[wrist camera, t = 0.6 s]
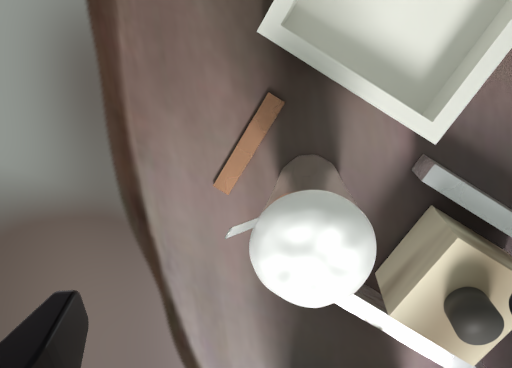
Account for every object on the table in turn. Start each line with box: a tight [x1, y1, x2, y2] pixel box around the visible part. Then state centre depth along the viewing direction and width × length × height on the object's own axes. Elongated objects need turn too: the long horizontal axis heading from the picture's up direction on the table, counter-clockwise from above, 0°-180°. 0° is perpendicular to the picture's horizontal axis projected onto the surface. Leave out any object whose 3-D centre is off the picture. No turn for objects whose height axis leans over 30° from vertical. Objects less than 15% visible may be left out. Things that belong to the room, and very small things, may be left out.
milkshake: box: [225, 154, 376, 308], centre depth 18 cm, size 5×5×10 cm
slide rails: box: [213, 92, 512, 368], centre depth 22 cm, size 18×9×2 cm, turn 59°
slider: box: [375, 205, 512, 367], centre depth 20 cm, size 5×5×6 cm
